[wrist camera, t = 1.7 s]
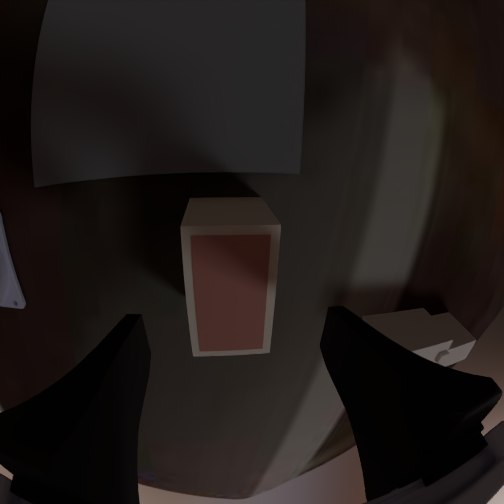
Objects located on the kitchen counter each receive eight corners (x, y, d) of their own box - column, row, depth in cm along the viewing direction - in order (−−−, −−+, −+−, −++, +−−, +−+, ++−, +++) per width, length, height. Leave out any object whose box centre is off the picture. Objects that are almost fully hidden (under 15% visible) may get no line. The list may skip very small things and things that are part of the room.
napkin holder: (318, 336, 21) (343, 389, 16) (418, 234, 19) (467, 267, 14) (392, 383, 27) (413, 418, 22) (462, 315, 24) (491, 344, 19)
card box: (195, 302, 18) (193, 356, 14) (190, 197, 15) (180, 226, 11) (256, 300, 19) (269, 353, 14) (260, 197, 16) (281, 225, 11)
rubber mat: (38, 185, 13) (34, 187, 13) (54, -9, 7) (51, -11, 7) (297, 172, 15) (299, 173, 15) (301, -32, 10) (304, -35, 9)
